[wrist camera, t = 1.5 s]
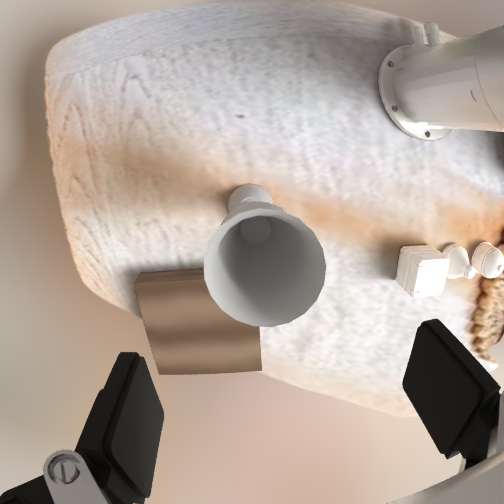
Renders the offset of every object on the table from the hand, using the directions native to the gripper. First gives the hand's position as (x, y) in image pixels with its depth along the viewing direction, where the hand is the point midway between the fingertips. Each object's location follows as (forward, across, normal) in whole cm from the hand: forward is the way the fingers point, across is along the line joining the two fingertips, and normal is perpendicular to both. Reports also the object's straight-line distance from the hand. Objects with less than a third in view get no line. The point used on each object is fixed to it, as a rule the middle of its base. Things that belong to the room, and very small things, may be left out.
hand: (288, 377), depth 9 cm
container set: (+26, -29, +9) cm, 40 cm away
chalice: (+26, 0, 0) cm, 26 cm away
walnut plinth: (+26, +7, +14) cm, 30 cm away
